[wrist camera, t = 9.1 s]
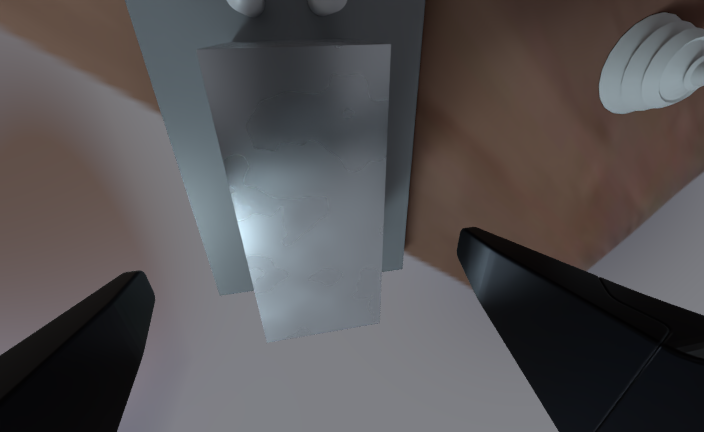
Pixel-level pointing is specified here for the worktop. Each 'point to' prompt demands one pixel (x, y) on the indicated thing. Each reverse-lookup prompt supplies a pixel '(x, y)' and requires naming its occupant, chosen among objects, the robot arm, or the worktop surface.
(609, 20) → the worktop surface
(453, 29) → the worktop surface
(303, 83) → the block
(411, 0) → the grey peg plate
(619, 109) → the chalice
